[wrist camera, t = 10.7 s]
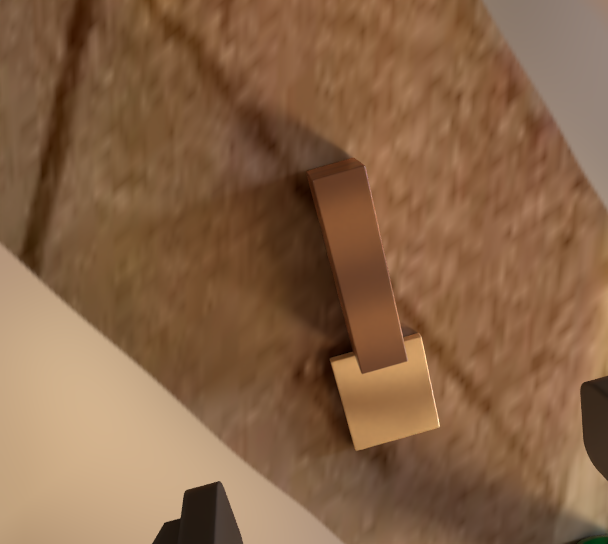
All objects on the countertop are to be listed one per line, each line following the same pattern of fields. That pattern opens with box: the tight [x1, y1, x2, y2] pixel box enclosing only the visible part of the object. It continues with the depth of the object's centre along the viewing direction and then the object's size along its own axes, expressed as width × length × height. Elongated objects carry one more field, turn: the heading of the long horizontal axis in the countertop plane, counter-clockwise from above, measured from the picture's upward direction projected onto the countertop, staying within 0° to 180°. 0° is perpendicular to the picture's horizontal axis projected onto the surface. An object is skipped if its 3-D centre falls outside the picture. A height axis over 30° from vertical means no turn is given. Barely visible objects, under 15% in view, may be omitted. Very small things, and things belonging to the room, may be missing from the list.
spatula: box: [306, 158, 440, 451], centre depth 27 cm, size 16×5×2 cm, turn 15°
